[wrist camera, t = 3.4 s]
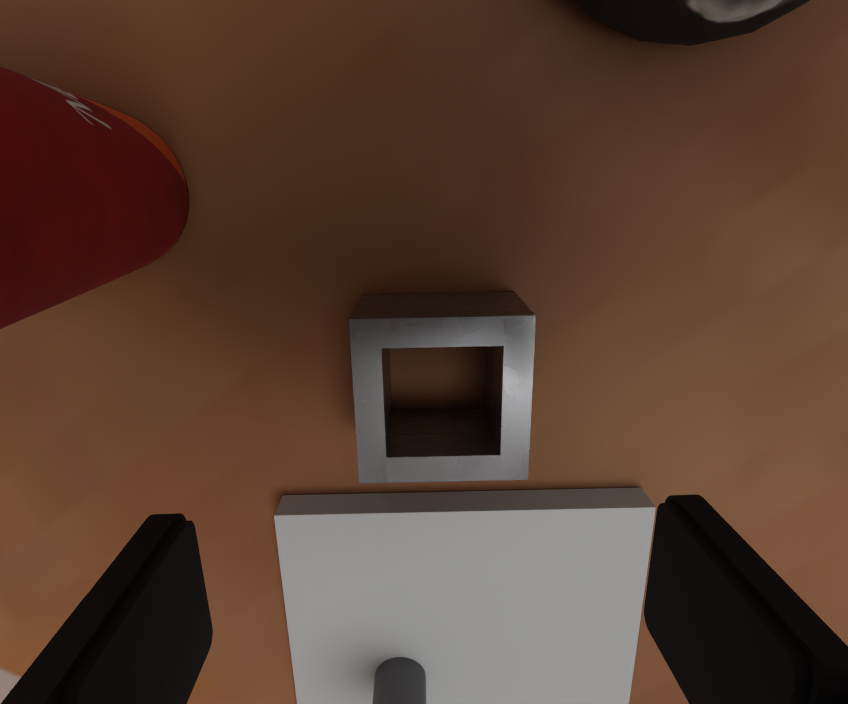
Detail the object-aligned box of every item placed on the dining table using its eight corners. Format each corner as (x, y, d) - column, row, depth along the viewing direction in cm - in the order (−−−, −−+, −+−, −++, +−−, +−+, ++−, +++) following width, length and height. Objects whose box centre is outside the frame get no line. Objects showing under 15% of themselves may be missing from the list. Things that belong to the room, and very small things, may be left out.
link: (361, 294, 21) (348, 319, 17) (514, 291, 21) (535, 315, 17) (369, 432, 22) (358, 483, 19) (509, 429, 22) (527, 479, 19)
